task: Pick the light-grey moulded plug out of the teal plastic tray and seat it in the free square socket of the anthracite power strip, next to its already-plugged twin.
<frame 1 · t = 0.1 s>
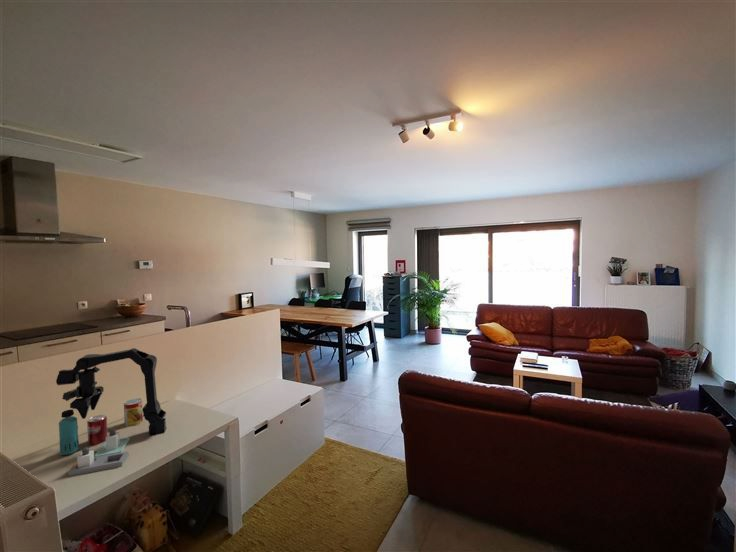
hand: (88, 414, 153), 15 cm above the table, fingers open, 9 cm apart
beverage bottle: (69, 454, 145), on the table
plug: (113, 447, 150), point 1 cm above the table, touching tray
twin plug: (86, 467, 135), point 1 cm above the table, touching pdu strip
soda can: (98, 442, 155), on the table
pdu strip: (100, 466, 136), on the table
tray: (113, 448, 150), on the table
canned food: (133, 423, 173), on the table
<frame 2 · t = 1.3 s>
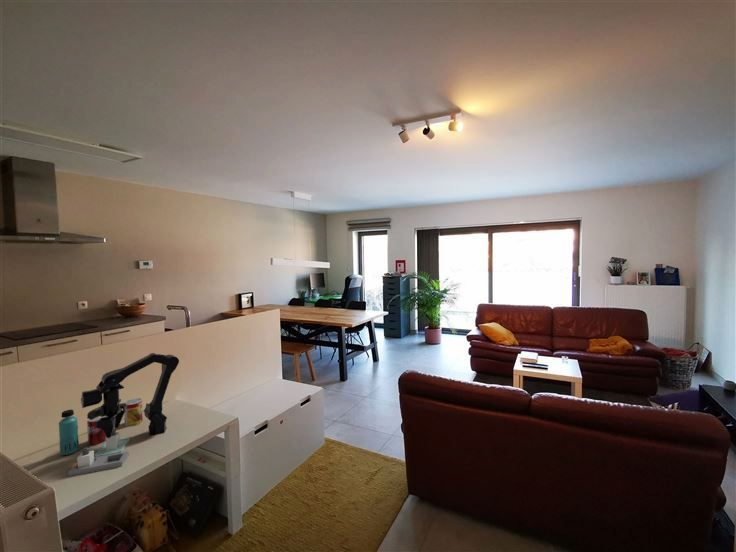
hand: (112, 432, 149), 8 cm above the table, fingers open, 9 cm apart
nothing on the table moved.
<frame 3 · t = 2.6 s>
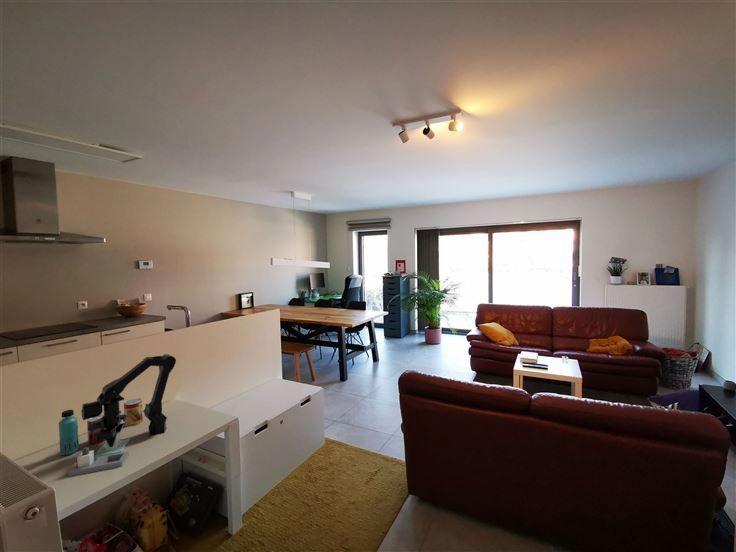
hand: (113, 444, 149), 2 cm above the table, fingers closed on plug, 4 cm apart
plug: (113, 447, 150), point 1 cm above the table, touching gripper, tray
everything else where it was.
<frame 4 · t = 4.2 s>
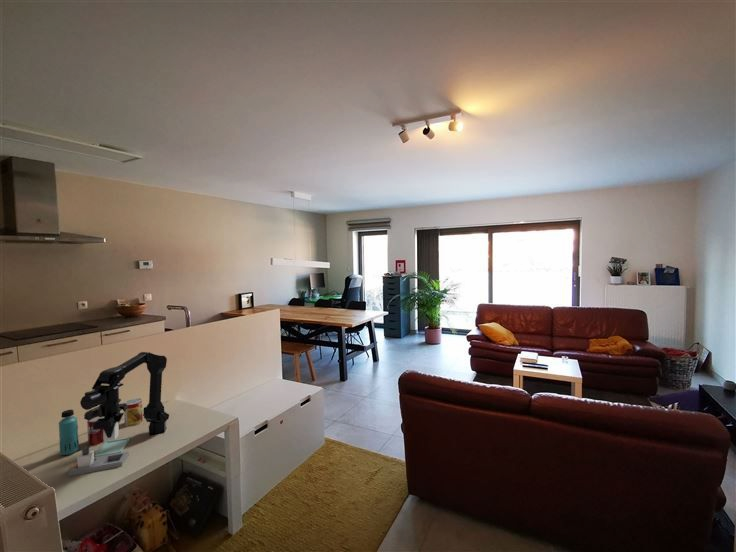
hand: (111, 435, 138), 12 cm above the table, fingers closed on plug, 4 cm apart
plug: (111, 438, 138), point 11 cm above the table, touching gripper
everything else where it was.
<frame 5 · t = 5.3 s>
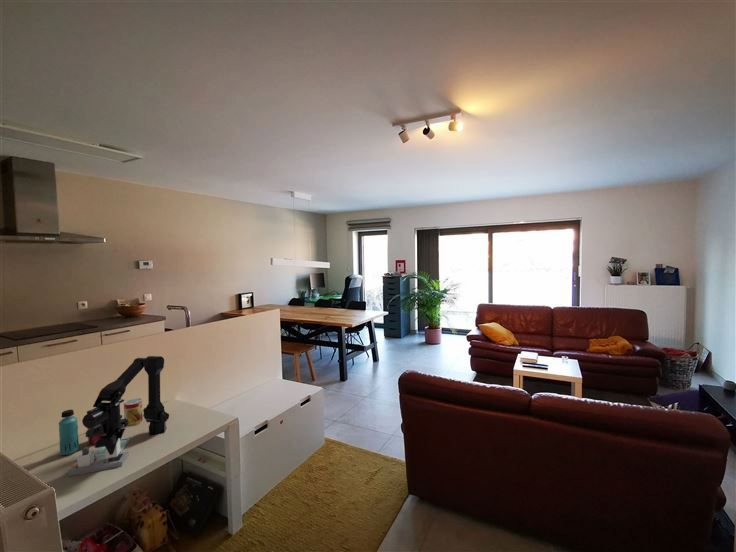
hand: (113, 451, 138), 5 cm above the table, fingers closed on plug, 4 cm apart
plug: (113, 454, 138), point 4 cm above the table, touching gripper
everything else where it was.
when the fingers open (3 cm above the table, at t = 6.0 s): plug drops 1 cm, resting on pdu strip.
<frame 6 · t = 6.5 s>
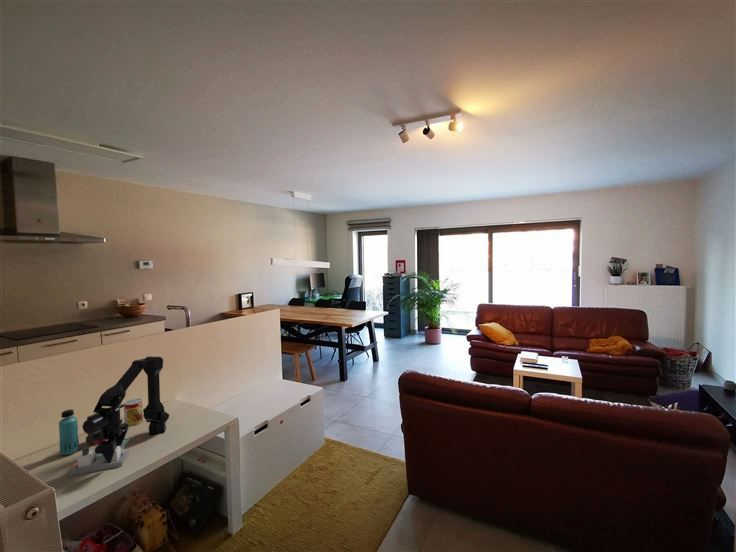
hand: (113, 456, 138), 3 cm above the table, fingers open, 9 cm apart
plug: (113, 462, 138), point 1 cm above the table, touching pdu strip
everything else where it was.
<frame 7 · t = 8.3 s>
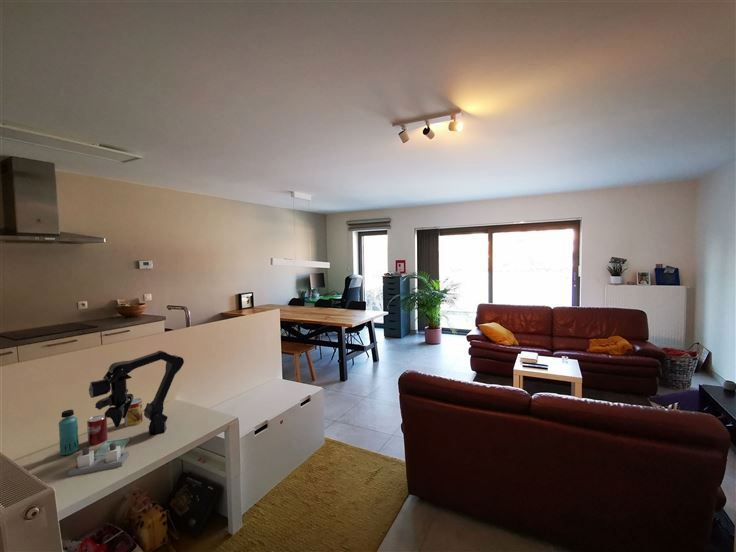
hand: (120, 422, 150), 12 cm above the table, fingers open, 9 cm apart
nothing on the table moved.
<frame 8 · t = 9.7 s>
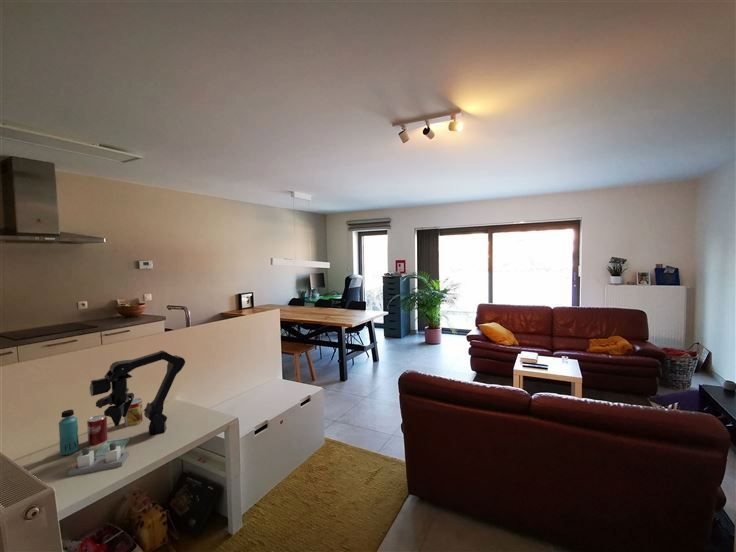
hand: (120, 421, 151), 12 cm above the table, fingers open, 9 cm apart
nothing on the table moved.
at the end: plug 0.1 cm from the target spot on the pdu strip, point 0.6 cm above the pdu strip's base; plug tilted 0°; the gripper is holding nothing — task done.
